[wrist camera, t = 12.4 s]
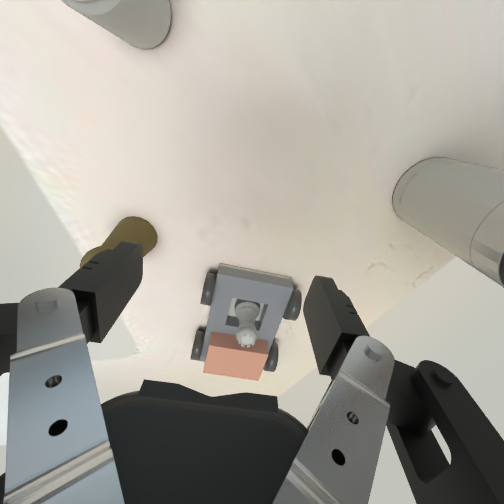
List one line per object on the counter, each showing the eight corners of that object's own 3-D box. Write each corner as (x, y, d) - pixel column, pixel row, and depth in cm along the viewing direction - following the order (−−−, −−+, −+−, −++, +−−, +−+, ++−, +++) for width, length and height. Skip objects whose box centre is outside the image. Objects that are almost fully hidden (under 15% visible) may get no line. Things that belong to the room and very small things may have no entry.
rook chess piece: (246, 290, 42) (245, 325, 35) (265, 304, 43) (268, 341, 36) (229, 305, 43) (225, 342, 36) (247, 318, 45) (247, 356, 38)
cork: (164, 247, 39) (135, 291, 29) (128, 256, 39) (89, 302, 30) (146, 211, 36) (107, 246, 26) (108, 222, 37) (57, 259, 27)
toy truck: (300, 279, 42) (307, 302, 36) (268, 358, 51) (270, 386, 46) (209, 261, 40) (203, 283, 35) (194, 346, 49) (187, 374, 44)
